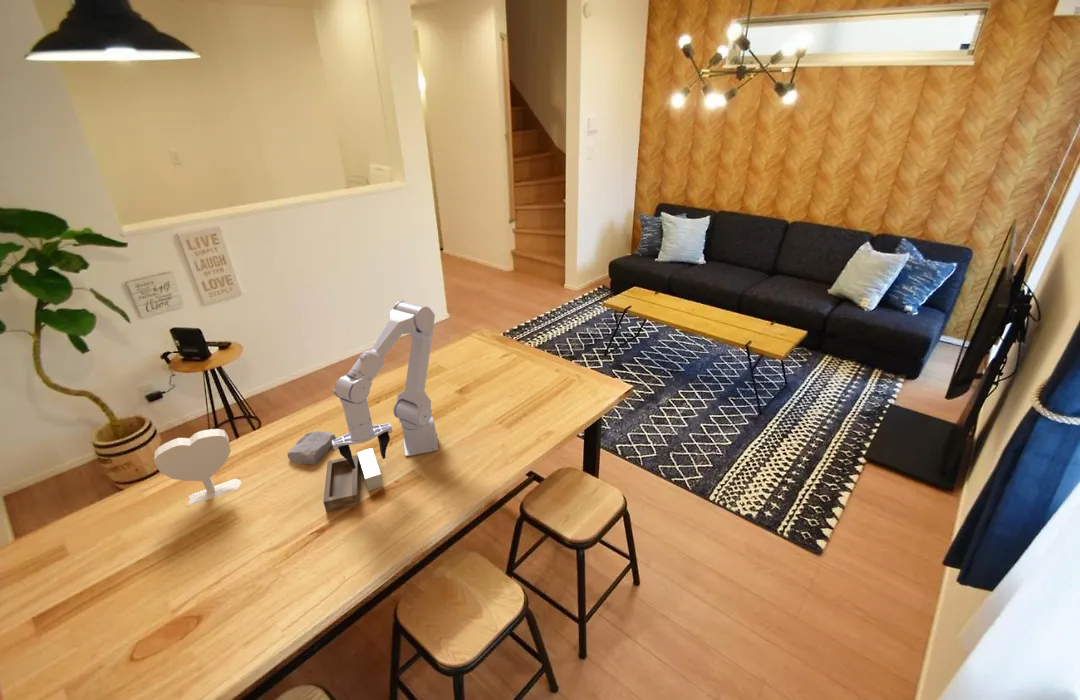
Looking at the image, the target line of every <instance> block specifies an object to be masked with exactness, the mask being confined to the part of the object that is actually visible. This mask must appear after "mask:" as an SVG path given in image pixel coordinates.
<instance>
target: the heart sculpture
mask: <svg viewBox="0 0 1080 700" xmlns="http://www.w3.org/2000/svg"><path fill="white" fill-rule="evenodd" d="M230 454H231V444H230V438H229V435H228V434H227V432H226V431H225V429H220V428H211V429H203V430H200V431H197V432H195V433H193V434H192V435H191V436H190V437H176V438H174V439H171V440H169V441H167V442H165V443H163V444H162V445H160V446H159V447H157V449H155V451H154V456H153V457H154V464H155V467H156V469H157V470H158V471H159V472H160V473H161V474H162V475H164V476H166V477H168V478H171V479H172V480H176V481H177V480H179V481H184V482H201V483H202V484H203V486H204V489H205V490H204V489H202V490H203V491H202V490H199V491H200V492H199V491H196V492H197V493H196V492H194V494H193V493H191V494H192V495H190V494H189V495H190V496H189V498H190V501H188V502H189V505H192V504H195V503H198V502H200V503H199V504H201V503H204V502H206V501H205V500H207V501H209V500H211V499H210V498H212V499H214V498H213V497H215V498H217V497H216V496H218V497H221V496H222V495H226V494H228V493H231V492H233V491H237V490H239V488H240V486H241V484H242V481H241V480H240V479H238V478H233V479H230V480H227V481H225V482H221V483H219V484H216V485H215V484H214V482H213V480H212V477H213V476H214V475H215V474H216V473H217V472H218V471H219V470H221V468H222V467H223V466H224V465H225V464H226V463H227V461H228V459H229V457H230ZM208 499H209V500H208ZM203 501H204V502H203Z"/></svg>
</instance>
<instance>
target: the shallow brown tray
mask: <svg viewBox="0 0 1080 700" xmlns="http://www.w3.org/2000/svg"><path fill="white" fill-rule="evenodd" d="M352 458H353V461H354V464H355V467H356V468H355V469H353V468H352V466H351V464H350V463H349V462H348V460H347V459H346V458H344V457H342V458H341V457H340V458H336V459H331V460H327V463H326V464H327V465H326V473H325V474H326V475H325V483H324V484H325V485H324V492H323V493H324V494H323V506H324V508H325V513H329V512H334V511H339V510H343V509H347V508H351V507H356V506H360V503H361V501H360V499H361V495H360V494H361V490H360V489H361V465H360V461H359V457H358V454H356V455H352Z"/></svg>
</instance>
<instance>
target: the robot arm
mask: <svg viewBox="0 0 1080 700" xmlns="http://www.w3.org/2000/svg"><path fill="white" fill-rule="evenodd" d="M388 313H389V314H388V315H389V317H388V319H389V321H388V322H387V324H385V327H384V328H383V330H382V332H381V333H380V335H379V336H378V338H377V340H376V341H375V343H374V344H373V346H372V348H371V349H368V350H364V351H363V352H362V353H361V354H360V355H359V357H358V359H357V360H356V362H355V363H354V364H353V366H352V367H351V368H350V370H349V371H348V372H347V373H346V374H345V375H342V376H341V377H339V378H338V379H337V380H336V382H335V384H334V390H333V394H334V395H335V397H337V398H339V401H340V403H341V405H342V408H343V412H344V416H345V422H346V424H347V429H348V432H347V433H345V434H343V435H342V436H339V437H338V438H337V437H336V439H335V440H332V444H333V445H332V447H333V450H334V451H339V453H340V455H341V456H342V458H346V459H347V460H348V462H349V463H350V464H351V466H352V468H353V469H355V468H356V467H355V464H354V461H353V458H352V456H353V455H352V451H351V449H350V446H351V445H358V444H364V443H367V442H369V441H371V440H373V439H375V438H376V437H377V440H378V445H379V451H380V456H381V458H382V459H383V460H384V459H386V453H387V447H388V446H389V445H388V444H389V442H391V441H390V440H391V438H390V437H391V436H390V434H393V427H392V425H391V423H390V422H387V423H384V424H383V423H382V424H373V422H372V417H371V413H370V408H369V404H368V403H369V402H368V400H367V398H368V397H369V395H370V391H371V387H372V385H373V380H374V379H375V378H376V375H378V374H379V371H380V370H381V369H382V367H383V366H384V365H385V361H384V357H385V355H386V354H387V353H388V352H389V351H390V349H392V347H393V346H394V345H395V344H396V343H397V341H398V340H399V339H400V338H401V336H402V335H407V334H410V336H411V343H410V350H409V358H408V365H407V371H406V372H407V374H406V381H405V387H404V390H403V391H401V392H400V393H398V394H397V397H396V398H397V399H396V401H395V403H394V405H393V410H392V411H393V412H392V413H393V416H394V417H395V418H397V419H398V420H399V423H400V425H401V429H402V435H403V446H404V456H405V457H411V456H416V455H421V454H427V453H432V452H437V451H439V444H438V439H439V437H438V432H437V431H436V423H435V420H434V417H433V416H432V415H433V414H432V400H431V398H430V397H429V396H428V394H427V393H426V391H425V390H426V386H427V385H426V383H427V377H428V370H429V362H430V361H429V360H430V355H431V349H432V348H431V347H432V341H433V334H434V325H435V318H436V317H435V316H436V314H435V312H433V310H432V309H431V308H430V307H429V306H425V305H424V306H422V305H418V304H415V303H411V302H407V301H404V300H398V301H397V302H396V303H395V304H393V307H392V309H391V310H390V311H389V312H388Z"/></svg>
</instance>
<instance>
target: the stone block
mask: <svg viewBox="0 0 1080 700" xmlns="http://www.w3.org/2000/svg"><path fill="white" fill-rule="evenodd" d="M335 439H337V437H336V435H335V434H334V433H333V432H328V431H327V432H326V431H322V430H321V431H320V430H316V431H311V432H307V433H306V434H304V435H303V437H301V438H300V439H299V440H297V442H296V443H295V445H293V446H292V448H291V449H289V451H288V452H287V457H288V460H289V462H291V463H294V464H297V465H302V464H303V465H313V466H314V465H315V466H316V465H317V464H318V463H319V461H320V460H321V459H322V458H323V457H324V455H326V453H327V452H328V451H329V450H330V449H331V448H332V447H333V444H332V440H335Z"/></svg>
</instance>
